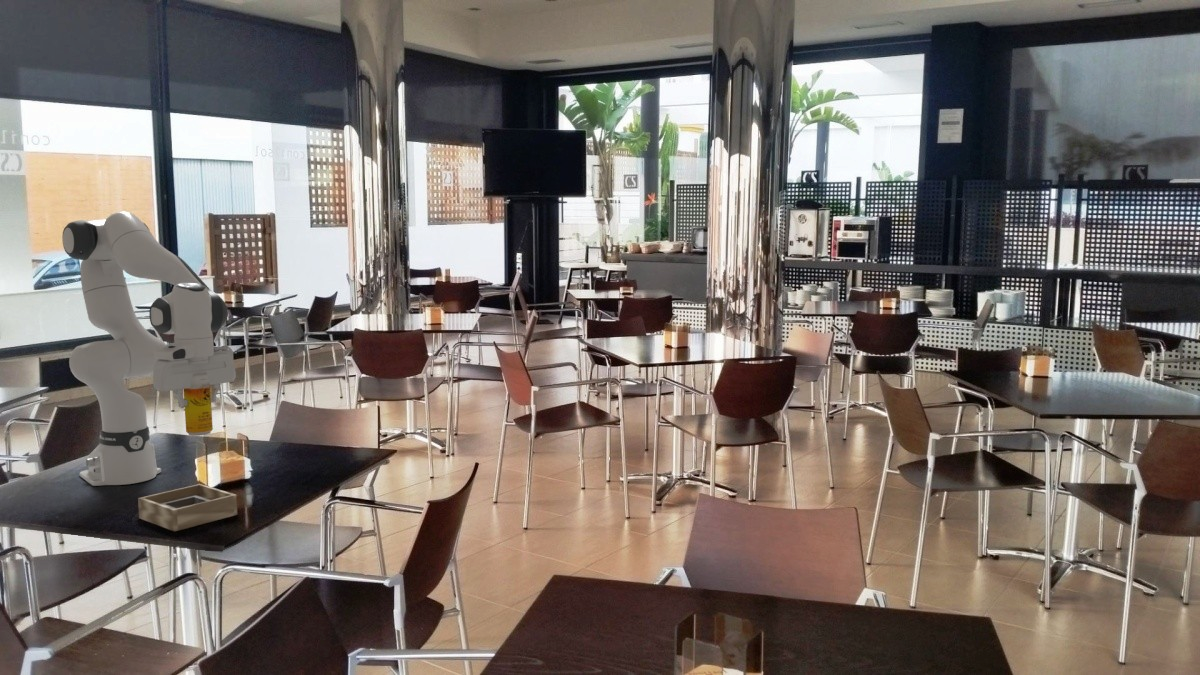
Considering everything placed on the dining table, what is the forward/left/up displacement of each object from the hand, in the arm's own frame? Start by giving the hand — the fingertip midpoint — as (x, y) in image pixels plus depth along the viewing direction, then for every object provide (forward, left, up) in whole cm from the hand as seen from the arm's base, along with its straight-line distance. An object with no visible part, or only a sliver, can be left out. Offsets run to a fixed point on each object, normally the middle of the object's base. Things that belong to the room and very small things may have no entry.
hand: (197, 404), depth 234 cm
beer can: (0, 0, -8) cm, 8 cm away
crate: (+5, -6, -26) cm, 27 cm away
